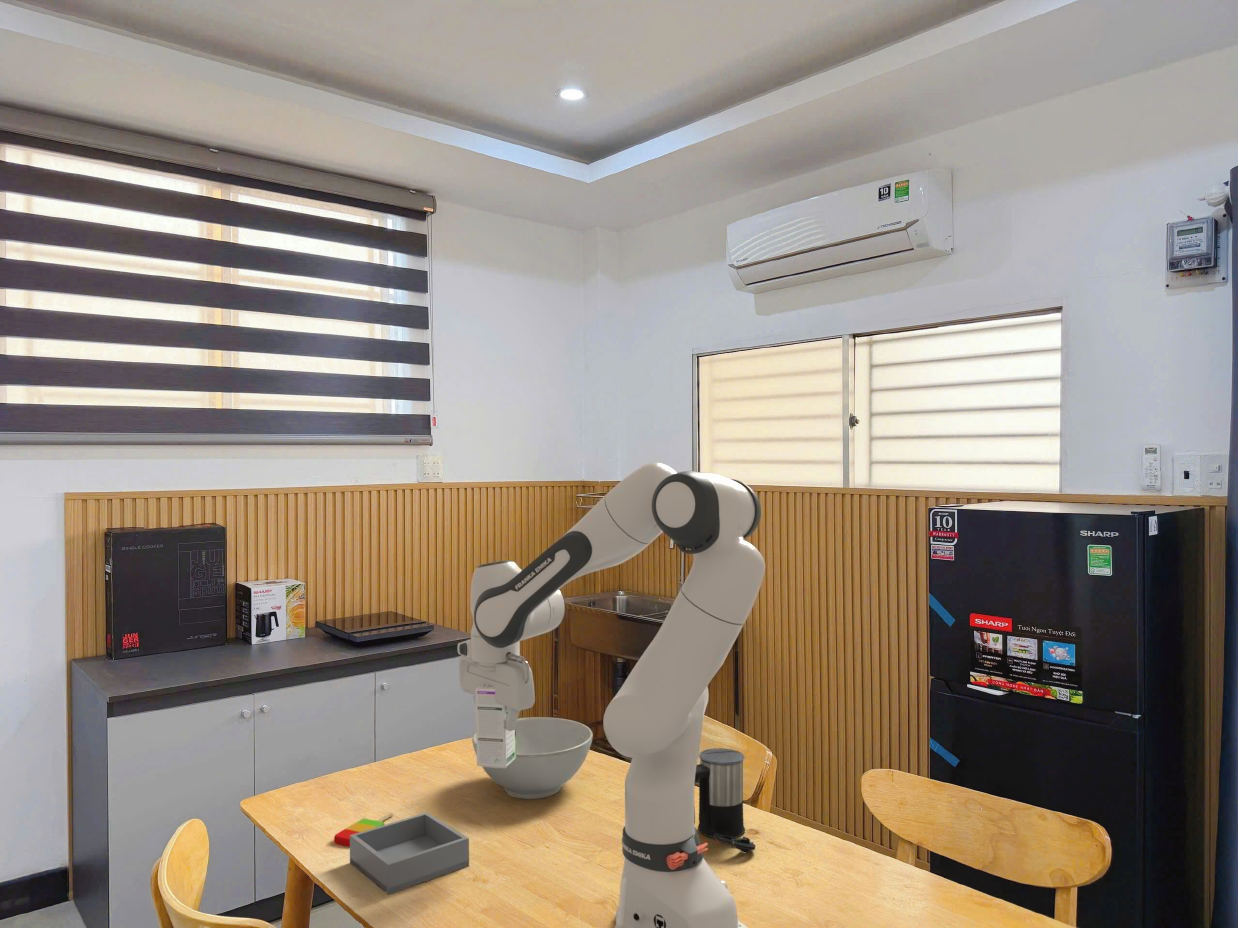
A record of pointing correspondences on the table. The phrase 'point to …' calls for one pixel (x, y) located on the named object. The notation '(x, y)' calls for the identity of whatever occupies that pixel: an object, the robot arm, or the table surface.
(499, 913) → the table surface
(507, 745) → the syrup box
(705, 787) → the milk frother
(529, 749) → the decorative bowl
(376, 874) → the bin
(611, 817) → the table surface
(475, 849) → the table surface
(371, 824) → the popsicle
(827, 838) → the table surface
